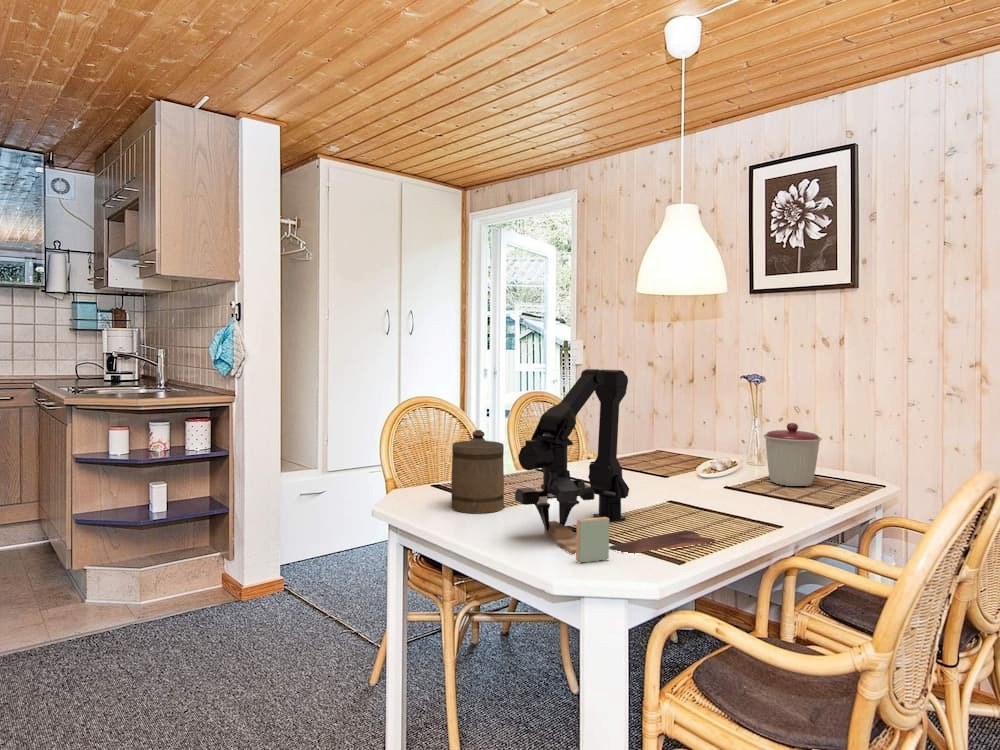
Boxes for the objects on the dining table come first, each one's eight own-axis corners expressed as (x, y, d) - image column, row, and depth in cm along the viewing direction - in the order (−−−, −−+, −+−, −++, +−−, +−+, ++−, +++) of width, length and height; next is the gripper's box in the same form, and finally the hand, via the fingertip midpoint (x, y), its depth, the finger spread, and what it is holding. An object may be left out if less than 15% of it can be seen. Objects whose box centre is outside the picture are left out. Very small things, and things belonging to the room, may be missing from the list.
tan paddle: (540, 534, 157) (540, 522, 157) (559, 532, 159) (559, 520, 159) (571, 555, 141) (571, 541, 141) (591, 553, 143) (592, 539, 143)
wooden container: (483, 499, 194) (484, 426, 193) (514, 509, 182) (515, 431, 181) (441, 505, 185) (442, 429, 184) (470, 516, 173) (471, 435, 172)
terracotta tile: (576, 561, 137) (576, 519, 137) (605, 558, 139) (605, 516, 139) (579, 563, 135) (580, 521, 135) (609, 560, 138) (609, 518, 137)
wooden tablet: (631, 554, 139) (603, 537, 148) (630, 564, 139) (602, 546, 148) (720, 539, 152) (689, 524, 160) (718, 548, 152) (688, 532, 161)
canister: (754, 478, 230) (756, 419, 229) (806, 479, 229) (807, 420, 228) (774, 489, 212) (775, 425, 211) (830, 490, 211) (832, 426, 210)
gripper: (532, 473, 144) (531, 542, 145) (606, 469, 151) (605, 535, 151) (514, 464, 155) (513, 529, 155) (584, 461, 161) (583, 523, 162)
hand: (554, 529), depth 156 cm, fingers open, 4 cm apart
